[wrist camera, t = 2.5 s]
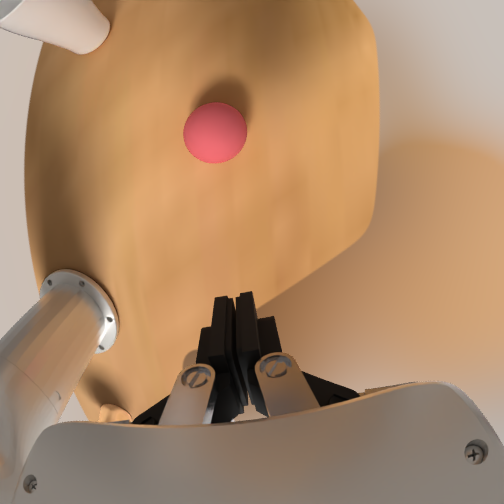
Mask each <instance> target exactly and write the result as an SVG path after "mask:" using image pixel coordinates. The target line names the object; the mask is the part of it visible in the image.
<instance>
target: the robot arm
mask: <svg viewBox="0 0 504 504" xmlns="http://www.w3.org/2000/svg"><path fill="white" fill-rule="evenodd" d="M118 333H119V321H118V316H117V313H116V310H115V308H114V306H113V303H112V301H111V300H110V298H109V297H108V295H107V294H106V293H105V292H104V290H103V289H102V288H101V287H100V286H99V285H98V284H97V283H96V282H95V281H93V280H92V279H91V278H89V277H88V276H86V275H85V274H82V273H80V272H78V271H75V270H71V269H61V270H57V271H55V272H53V273H51V274H50V275H49V276H48V277H47V278H46V279H45V280H44V282H43V283H42V286H41V289H40V300H39V301H38V302H37V303H36V304H35V305H34V306H33V307H32V308H31V309H30V310H29V311H28V312H27V313H26V314H25V315H24V316H23V317H22V318H21V319H20V320H19V321H18V322H17V323H16V324H15V325H14V326H13V327H12V328H11V329H10V330H9V331H8V332H7V333H6V334H5V335H4V336H3V337H2V338H1V340H0V504H504V446H503V444H502V442H501V441H500V439H499V438H498V436H497V434H496V433H495V431H494V429H493V428H492V426H491V425H490V423H489V422H488V420H487V419H486V418H485V416H484V415H483V413H482V412H481V411H480V409H479V408H478V407H477V406H476V405H475V403H474V402H473V401H472V400H471V399H470V398H469V397H468V396H467V395H466V394H465V393H464V392H463V391H462V390H461V389H459V388H458V387H457V386H455V385H453V384H451V383H447V382H439V381H428V382H409V383H404V384H399V385H393V386H386V387H380V388H373V389H365V392H363V393H357V392H356V391H354V390H352V389H349V388H346V387H343V386H340V385H337V384H334V383H332V382H329V381H326V380H324V379H321V378H318V377H316V376H313V375H310V374H308V373H305V372H303V371H301V370H300V368H299V366H298V364H297V362H296V360H295V359H294V358H293V357H292V356H291V355H289V354H287V353H283V352H282V349H281V345H280V340H279V336H278V332H277V327H276V323H275V319H274V316H271V317H266V318H260V319H258V318H257V313H256V308H255V303H254V298H253V293H252V291H250V292H245V293H240V297H236V310H235V306H234V302H233V298H229V299H228V296H222V297H216V298H215V300H214V308H213V316H212V324H211V327H204V328H202V329H201V334H200V340H199V346H198V352H197V358H196V364H193V365H191V366H188V367H186V368H184V369H183V370H182V371H181V372H180V373H179V375H178V376H177V379H176V381H175V384H174V386H173V389H172V391H171V394H170V395H168V396H167V397H165V398H164V399H162V400H161V401H160V402H158V403H157V404H155V405H154V406H152V407H151V408H149V409H148V410H146V411H145V412H143V413H142V414H140V415H139V416H138V417H136V418H135V419H134V421H133V422H131V421H130V420H122V421H115V422H92V421H70V422H62V423H58V422H59V419H60V417H61V415H62V413H63V411H64V409H65V407H66V405H67V403H68V401H69V399H70V397H71V395H72V393H73V391H74V389H75V388H76V386H77V384H78V382H79V380H80V378H81V376H82V375H83V373H84V371H85V369H86V367H87V366H88V364H89V362H90V360H91V358H92V357H93V355H94V354H97V353H102V352H105V351H107V350H108V349H110V348H111V346H112V345H113V344H114V342H115V340H116V339H117V336H118ZM247 390H248V391H247ZM248 393H249V397H250V400H251V403H252V405H255V407H256V411H258V412H260V413H261V414H263V415H265V416H267V418H261V419H254V420H246V421H238V422H235V421H234V418H235V417H236V416H237V415H238V414H242V413H244V406H247V405H248ZM57 423H58V424H57Z"/></svg>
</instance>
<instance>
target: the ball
mask: <svg viewBox="0 0 504 504" xmlns="http://www.w3.org/2000/svg"><path fill="white" fill-rule="evenodd" d="M183 136H184V142H185V145H186V147H187V149H188V150H189V152H190V153H191V154H192V155H193V156H194V157H196V158H197V159H199V160H201V161H204V162H207V163H222V162H225V161H228V160H230V159H232V158H233V157H235V156H236V155H237V154H238V153H239V152H240V151H241V149H242V148H243V146H244V144H245V141H246V137H247V127H246V123H245V120H244V118H243V116H242V115H241V114H240V112H239V111H238V110H236V109H235V108H234V107H232V106H230V105H228V104H224V103H219V102H214V103H208V104H205V105H202V106H200V107H198V108H197V109H195V110H194V111H193V112H192V113H191V114H190V116H189V117H188V119H187V121H186V123H185V126H184V132H183Z"/></svg>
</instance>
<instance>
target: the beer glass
mask: <svg viewBox="0 0 504 504" xmlns="http://www.w3.org/2000/svg"><path fill="white" fill-rule="evenodd" d="M122 420H130V421H132V418H131V416H130V414H129V413H128V412H127V411H125V410H124V409H122V408H120V407H118V406H116V405H113V404H104V405H102V406H101V409H100V415H99V419H98V422H115V421H122Z"/></svg>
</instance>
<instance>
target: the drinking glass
mask: <svg viewBox="0 0 504 504" xmlns="http://www.w3.org/2000/svg"><path fill="white" fill-rule="evenodd" d="M0 28H2V29H4V30H7V31H9V32H12V33H15V34H18V35H21V36H25V37H28V38H32V39H36V40H40V41H43V42H46V43H50V44H53V45H56V46H59V47H62V48H65V49H67V50H70V51H71V52H73V53H76V54H87V53H89V52H92V51H93V50H95V49H96V48H98V47H99V46H100V45H101V44H102V43H103V42H104V41H105V39H106V38H107V36H108V34H109V30H110V23H109V21H108V19H107V18H106V17H105V16H104V15H103V14H102V13H101V12H100V11H99V9H98V8H97V7H96V6H95V4H94V3H93V2H92V0H0Z"/></svg>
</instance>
